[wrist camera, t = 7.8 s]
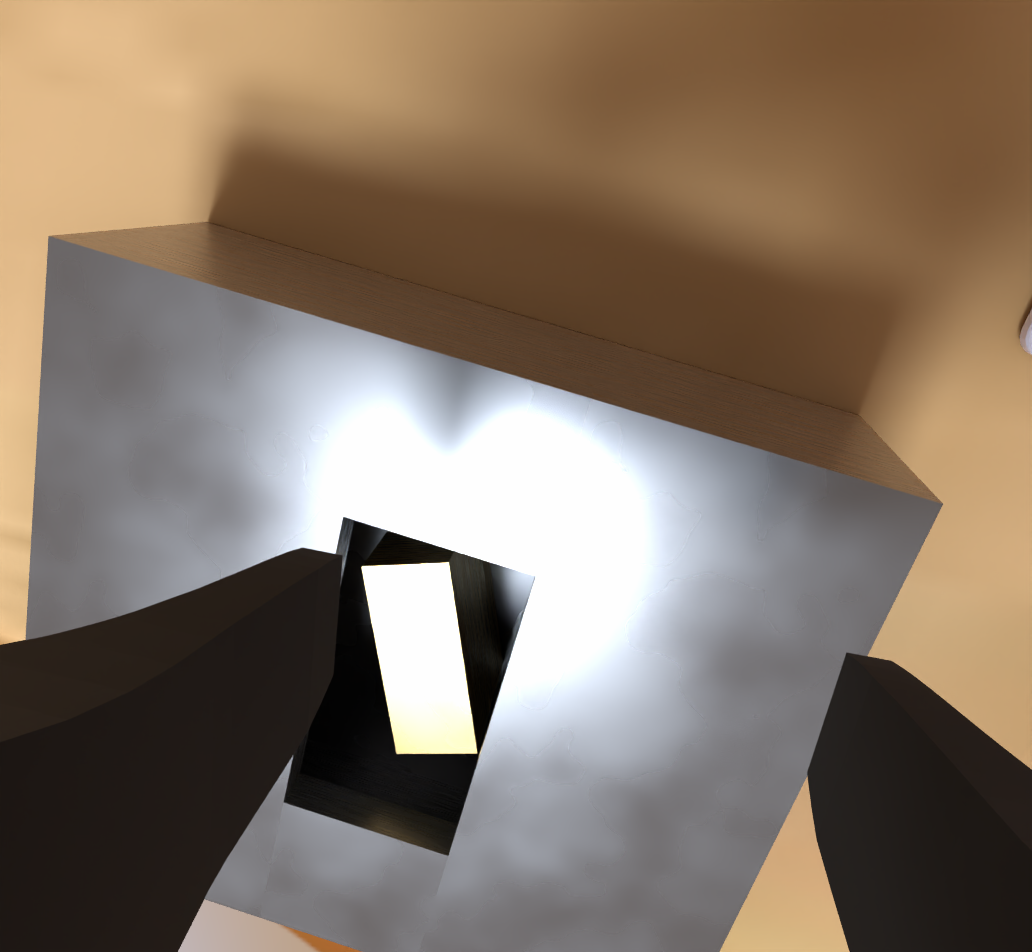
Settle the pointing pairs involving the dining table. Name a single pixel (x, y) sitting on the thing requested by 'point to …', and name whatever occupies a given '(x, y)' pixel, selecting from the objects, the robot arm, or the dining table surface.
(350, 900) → the coin box
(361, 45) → the dining table surface
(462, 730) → the block
